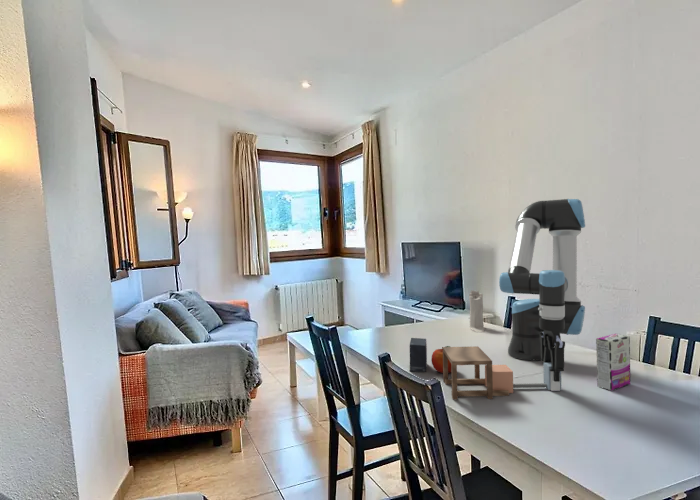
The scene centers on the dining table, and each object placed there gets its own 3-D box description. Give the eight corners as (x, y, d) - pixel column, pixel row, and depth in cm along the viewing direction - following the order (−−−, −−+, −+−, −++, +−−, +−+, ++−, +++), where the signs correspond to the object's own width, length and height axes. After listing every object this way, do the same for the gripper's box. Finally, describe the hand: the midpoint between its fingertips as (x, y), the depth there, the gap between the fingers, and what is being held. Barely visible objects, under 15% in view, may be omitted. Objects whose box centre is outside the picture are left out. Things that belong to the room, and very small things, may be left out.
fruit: (440, 365, 162) (439, 340, 161) (462, 371, 155) (461, 344, 154) (426, 371, 155) (425, 345, 155) (448, 377, 148) (447, 350, 148)
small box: (426, 372, 154) (426, 345, 154) (409, 371, 156) (408, 344, 155) (427, 363, 165) (426, 337, 164) (411, 363, 166) (410, 337, 166)
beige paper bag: (472, 332, 212) (471, 293, 211) (469, 325, 226) (468, 289, 225) (486, 332, 211) (486, 293, 210) (482, 326, 225) (482, 289, 224)
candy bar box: (615, 380, 141) (615, 332, 140) (631, 384, 137) (631, 336, 136) (595, 386, 136) (595, 337, 135) (611, 391, 132) (611, 341, 131)
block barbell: (553, 384, 139) (553, 361, 139) (563, 392, 132) (563, 367, 132) (485, 385, 140) (484, 362, 140) (491, 393, 133) (490, 368, 133)
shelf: (495, 380, 144) (494, 346, 144) (511, 398, 128) (510, 360, 128) (443, 381, 145) (442, 347, 144) (453, 399, 129) (452, 361, 128)
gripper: (529, 312, 143) (530, 378, 144) (551, 323, 126) (551, 397, 127) (551, 312, 143) (551, 378, 144) (576, 323, 126) (576, 397, 127)
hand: (551, 387), depth 135 cm, fingers closed on block barbell, 4 cm apart
